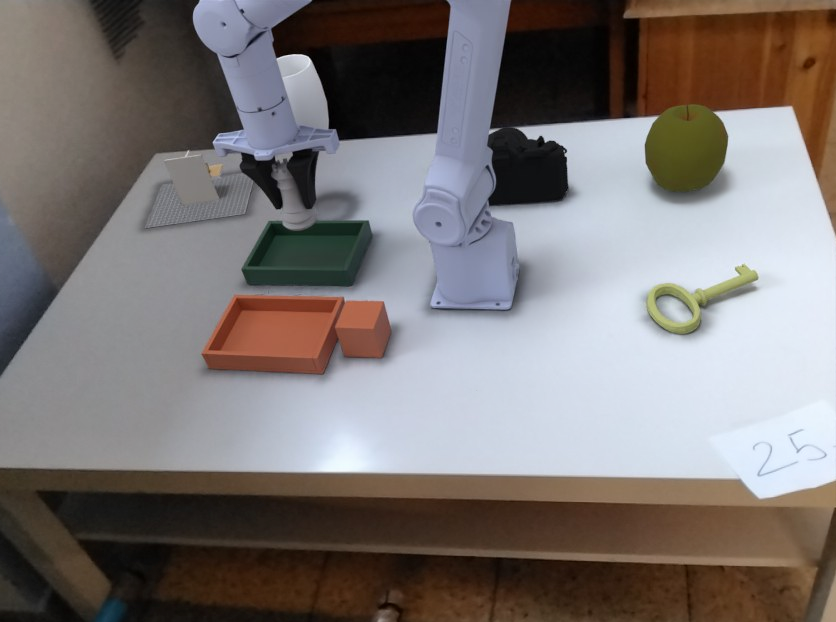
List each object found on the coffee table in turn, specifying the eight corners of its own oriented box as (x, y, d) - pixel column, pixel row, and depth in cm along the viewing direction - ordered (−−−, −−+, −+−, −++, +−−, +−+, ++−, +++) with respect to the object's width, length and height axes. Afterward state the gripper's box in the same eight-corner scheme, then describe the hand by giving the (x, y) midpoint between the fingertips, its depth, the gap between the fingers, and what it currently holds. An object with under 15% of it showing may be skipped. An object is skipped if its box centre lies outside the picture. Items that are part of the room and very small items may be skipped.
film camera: (570, 162, 113) (567, 101, 106) (568, 204, 106) (565, 141, 100) (461, 169, 116) (452, 110, 110) (452, 210, 110) (442, 150, 103)
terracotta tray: (348, 312, 98) (343, 296, 97) (323, 374, 92) (317, 358, 90) (240, 309, 102) (234, 294, 100) (208, 368, 95) (201, 353, 94)
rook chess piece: (290, 237, 99) (270, 179, 93) (278, 220, 102) (258, 163, 96) (324, 222, 100) (306, 165, 94) (311, 206, 103) (293, 149, 97)
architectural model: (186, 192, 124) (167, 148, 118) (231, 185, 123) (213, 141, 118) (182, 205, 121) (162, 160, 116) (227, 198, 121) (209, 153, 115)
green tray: (373, 235, 108) (368, 219, 107) (351, 286, 102) (346, 270, 100) (274, 235, 112) (268, 220, 110) (247, 284, 105) (240, 269, 104)
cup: (363, 208, 113) (326, 63, 98) (318, 232, 111) (272, 86, 96) (338, 188, 118) (298, 46, 103) (294, 210, 116) (247, 68, 101)
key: (761, 286, 90) (763, 270, 89) (680, 341, 86) (681, 326, 85) (710, 257, 95) (711, 242, 93) (631, 309, 91) (631, 294, 90)
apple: (678, 215, 101) (683, 135, 93) (627, 183, 107) (628, 105, 100) (740, 183, 103) (751, 102, 96) (687, 153, 110) (692, 75, 102)
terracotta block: (391, 330, 95) (384, 300, 92) (382, 358, 92) (373, 328, 89) (355, 329, 96) (346, 300, 93) (344, 356, 93) (334, 327, 90)
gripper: (187, 121, 89) (229, 224, 99) (312, 116, 85) (343, 224, 95) (212, 88, 94) (250, 190, 103) (331, 82, 90) (359, 188, 99)
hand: (295, 204), depth 99 cm, fingers closed on rook chess piece, 3 cm apart
